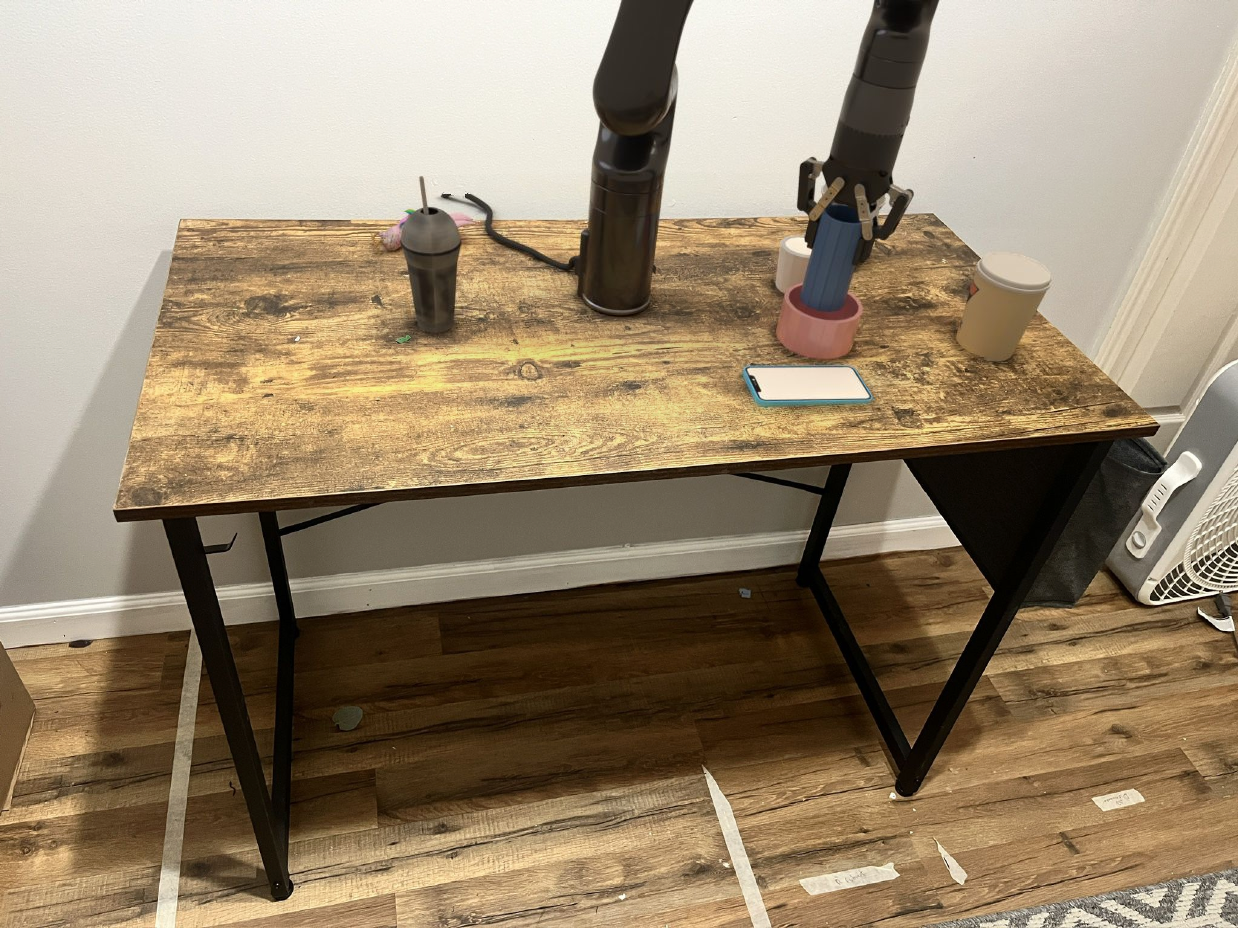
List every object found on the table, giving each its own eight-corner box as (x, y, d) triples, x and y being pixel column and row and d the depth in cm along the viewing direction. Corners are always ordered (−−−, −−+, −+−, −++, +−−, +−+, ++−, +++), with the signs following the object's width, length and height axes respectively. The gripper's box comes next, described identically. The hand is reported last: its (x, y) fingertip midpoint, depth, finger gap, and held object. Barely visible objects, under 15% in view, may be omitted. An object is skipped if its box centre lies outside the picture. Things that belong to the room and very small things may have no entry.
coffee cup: (969, 320, 127) (1000, 243, 119) (1030, 349, 122) (1066, 271, 115) (936, 342, 122) (966, 263, 114) (998, 373, 117) (1034, 293, 109)
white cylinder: (816, 305, 127) (828, 260, 122) (769, 296, 127) (779, 252, 123) (818, 282, 132) (829, 239, 127) (772, 274, 133) (782, 231, 128)
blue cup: (793, 300, 115) (815, 213, 107) (810, 285, 118) (834, 199, 110) (832, 316, 112) (858, 229, 105) (849, 300, 116) (876, 214, 108)
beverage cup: (475, 319, 116) (471, 171, 103) (443, 345, 111) (436, 192, 98) (428, 303, 118) (419, 155, 105) (395, 328, 113) (381, 176, 100)
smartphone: (875, 400, 108) (759, 401, 105) (872, 408, 109) (756, 409, 106) (853, 365, 114) (741, 365, 111) (850, 372, 115) (740, 373, 112)
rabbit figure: (381, 267, 127) (481, 241, 130) (370, 229, 123) (474, 203, 126) (373, 247, 131) (470, 222, 134) (362, 210, 127) (463, 185, 130)
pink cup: (762, 342, 118) (771, 303, 114) (795, 312, 125) (804, 274, 121) (832, 371, 114) (844, 331, 110) (862, 338, 121) (874, 300, 117)
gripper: (801, 109, 100) (770, 246, 111) (922, 147, 95) (877, 286, 106) (828, 95, 105) (795, 226, 116) (944, 129, 100) (899, 264, 111)
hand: (834, 254), depth 111 cm, fingers closed on blue cup, 5 cm apart
